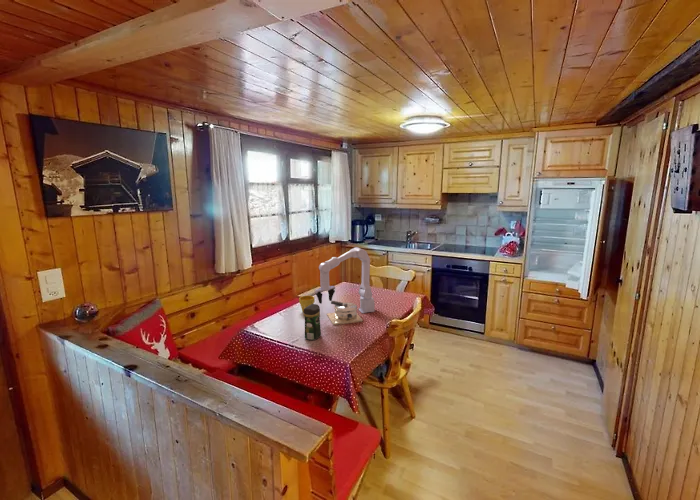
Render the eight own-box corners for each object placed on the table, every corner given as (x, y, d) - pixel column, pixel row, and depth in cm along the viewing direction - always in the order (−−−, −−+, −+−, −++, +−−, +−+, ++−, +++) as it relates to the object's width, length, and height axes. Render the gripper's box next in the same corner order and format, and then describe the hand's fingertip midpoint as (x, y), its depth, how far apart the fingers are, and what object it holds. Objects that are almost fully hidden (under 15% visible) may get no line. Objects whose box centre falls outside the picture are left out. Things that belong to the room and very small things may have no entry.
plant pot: (312, 314, 219) (311, 300, 217) (297, 313, 221) (296, 299, 219) (316, 309, 229) (316, 295, 227) (302, 308, 231) (302, 295, 229)
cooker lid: (361, 306, 214) (361, 302, 214) (349, 313, 202) (349, 309, 202) (338, 301, 224) (338, 297, 223) (325, 308, 212) (325, 304, 211)
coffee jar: (310, 332, 191) (309, 302, 188) (322, 334, 188) (321, 303, 185) (302, 339, 182) (300, 307, 179) (314, 341, 179) (313, 309, 176)
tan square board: (352, 309, 227) (352, 301, 226) (362, 321, 206) (362, 312, 205) (325, 312, 221) (325, 304, 220) (333, 325, 201) (333, 316, 199)
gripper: (330, 278, 217) (331, 298, 219) (311, 282, 208) (312, 302, 211) (336, 280, 212) (337, 300, 214) (317, 284, 203) (318, 305, 205)
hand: (325, 301), depth 212 cm, fingers open, 7 cm apart
